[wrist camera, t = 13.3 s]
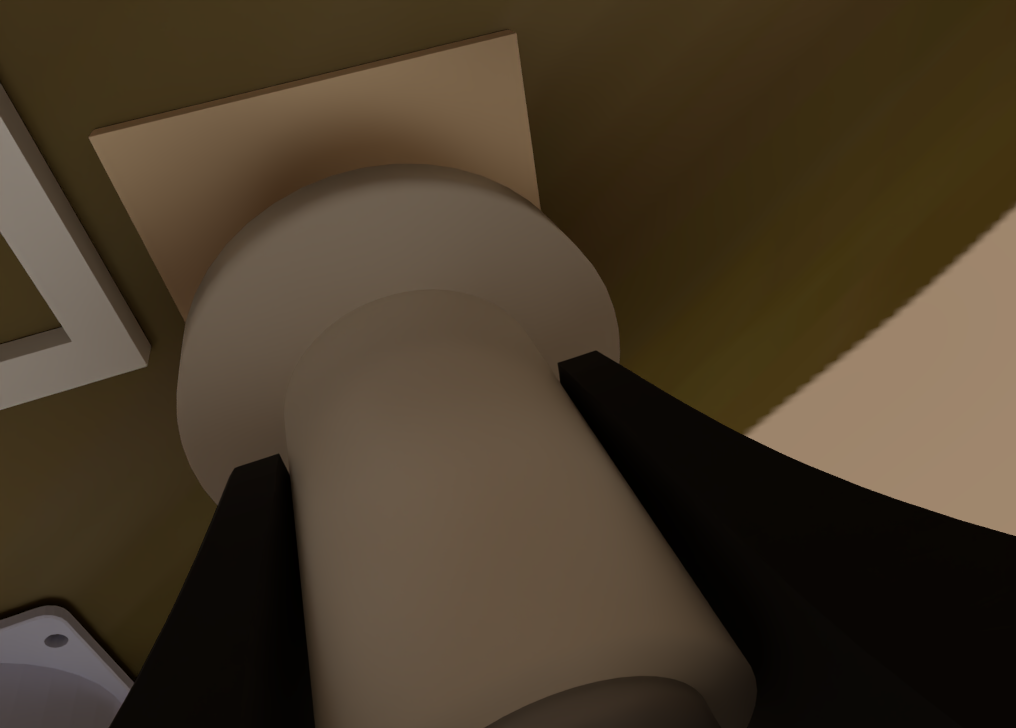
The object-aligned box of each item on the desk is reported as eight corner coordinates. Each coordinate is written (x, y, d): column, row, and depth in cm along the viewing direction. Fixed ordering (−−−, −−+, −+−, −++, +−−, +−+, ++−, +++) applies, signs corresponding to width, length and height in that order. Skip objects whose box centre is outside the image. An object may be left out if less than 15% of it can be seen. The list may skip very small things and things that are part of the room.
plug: (611, 433, 14) (870, 801, 8) (289, 563, 13) (333, 1073, 8) (556, 101, 10) (990, 376, 4) (84, 257, 9) (-162, 865, 3)
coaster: (554, 351, 19) (561, 360, 18) (257, 447, 17) (257, 460, 17) (508, 29, 14) (516, 33, 13) (93, 129, 13) (88, 137, 12)
